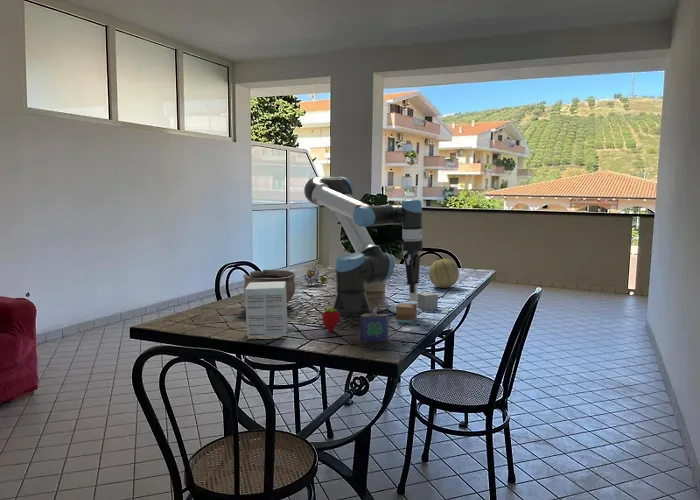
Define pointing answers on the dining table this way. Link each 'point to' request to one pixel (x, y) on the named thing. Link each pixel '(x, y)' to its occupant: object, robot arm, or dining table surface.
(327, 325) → the strawberry
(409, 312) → the brown and green cube
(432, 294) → the grey block
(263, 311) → the supplement box
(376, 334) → the flask
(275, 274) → the ceramic bowl
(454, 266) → the cantaloupe
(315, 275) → the passion flower
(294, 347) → the dining table surface
